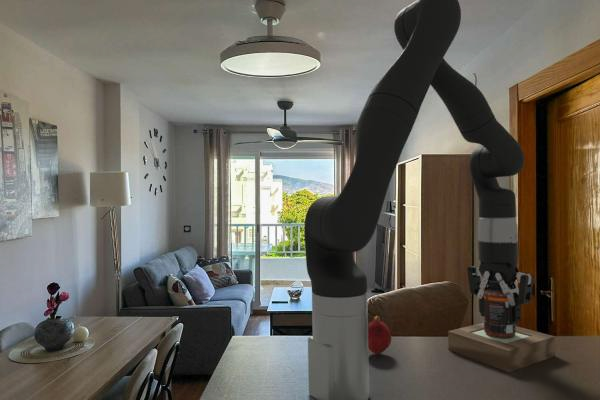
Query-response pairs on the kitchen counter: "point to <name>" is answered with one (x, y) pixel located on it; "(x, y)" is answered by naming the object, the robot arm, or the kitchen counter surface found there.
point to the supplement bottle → (497, 312)
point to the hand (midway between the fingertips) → (499, 319)
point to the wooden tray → (502, 347)
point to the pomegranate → (378, 336)
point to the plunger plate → (504, 340)
